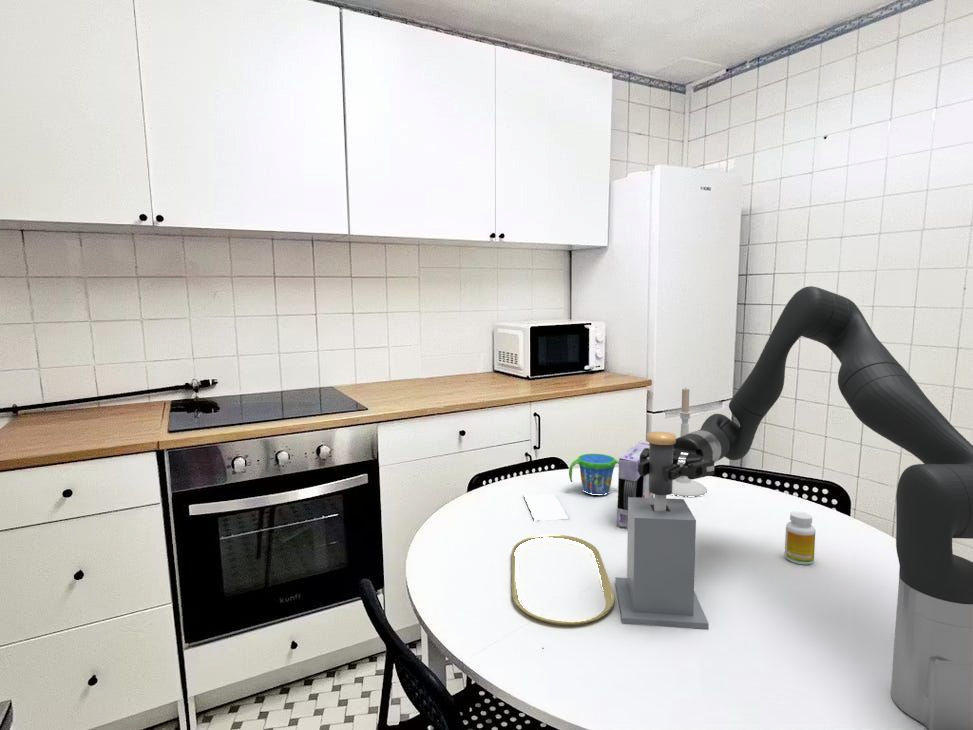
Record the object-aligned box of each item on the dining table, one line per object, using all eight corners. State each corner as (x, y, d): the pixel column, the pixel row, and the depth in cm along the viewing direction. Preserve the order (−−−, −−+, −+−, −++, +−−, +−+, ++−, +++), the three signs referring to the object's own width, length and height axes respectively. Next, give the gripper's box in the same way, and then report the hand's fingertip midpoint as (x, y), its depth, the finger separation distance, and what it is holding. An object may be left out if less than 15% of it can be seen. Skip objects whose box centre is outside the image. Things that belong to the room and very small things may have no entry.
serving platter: (512, 630, 93) (512, 621, 93) (511, 540, 128) (511, 534, 127) (624, 631, 92) (624, 622, 92) (592, 541, 127) (592, 534, 127)
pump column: (708, 629, 92) (711, 525, 90) (622, 623, 94) (623, 521, 92) (689, 586, 105) (692, 495, 103) (615, 582, 107) (616, 493, 105)
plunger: (675, 590, 96) (678, 438, 93) (646, 588, 97) (649, 437, 94) (669, 576, 101) (673, 431, 98) (643, 575, 102) (645, 431, 99)
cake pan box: (634, 532, 130) (635, 460, 128) (613, 528, 133) (614, 457, 131) (655, 506, 146) (657, 441, 144) (637, 503, 149) (638, 439, 147)
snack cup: (621, 487, 162) (621, 453, 161) (626, 499, 152) (627, 463, 151) (567, 486, 164) (567, 452, 162) (569, 498, 153) (569, 463, 152)
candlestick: (711, 498, 152) (715, 391, 148) (663, 496, 154) (666, 390, 150) (701, 483, 164) (704, 384, 161) (657, 481, 166) (658, 383, 163)
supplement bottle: (818, 566, 112) (820, 520, 111) (789, 564, 113) (791, 519, 112) (808, 554, 118) (810, 510, 116) (781, 552, 119) (783, 509, 118)
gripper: (660, 428, 111) (616, 445, 99) (732, 439, 102) (694, 459, 89) (659, 464, 112) (616, 485, 100) (731, 478, 103) (693, 503, 90)
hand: (653, 473), depth 95 cm, fingers closed on plunger, 4 cm apart
